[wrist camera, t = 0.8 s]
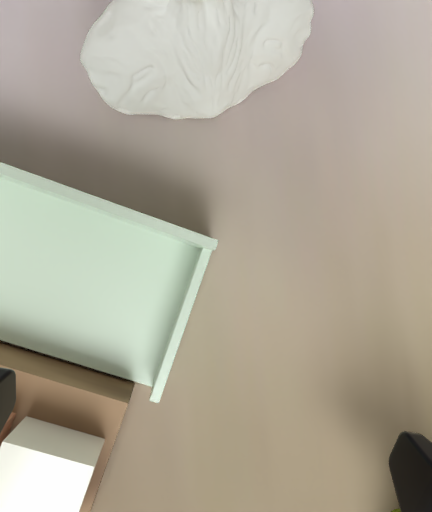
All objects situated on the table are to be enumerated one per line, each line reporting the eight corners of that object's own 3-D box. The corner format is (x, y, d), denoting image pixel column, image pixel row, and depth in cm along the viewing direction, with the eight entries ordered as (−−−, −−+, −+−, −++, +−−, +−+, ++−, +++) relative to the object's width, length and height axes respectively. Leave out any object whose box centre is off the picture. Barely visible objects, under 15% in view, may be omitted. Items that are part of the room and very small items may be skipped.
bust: (275, 64, 25) (289, -199, 16) (328, 123, 20) (388, -194, 11) (102, 104, 24) (9, -158, 15) (118, 178, 19) (-2, -135, 10)
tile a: (77, 516, 18) (62, 557, 16) (-4, 495, 18) (-32, 534, 15) (105, 438, 18) (94, 467, 16) (26, 416, 18) (2, 441, 15)
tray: (160, 386, 22) (157, 415, 18) (-139, 294, 20) (-217, 303, 16) (210, 243, 22) (218, 240, 18) (-78, 141, 20) (-139, 111, 16)
